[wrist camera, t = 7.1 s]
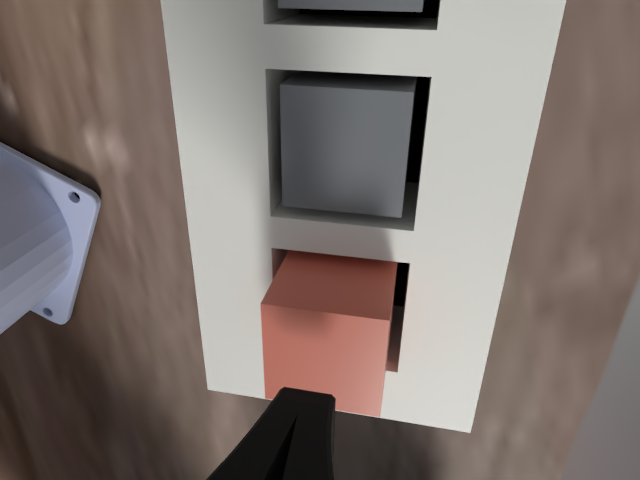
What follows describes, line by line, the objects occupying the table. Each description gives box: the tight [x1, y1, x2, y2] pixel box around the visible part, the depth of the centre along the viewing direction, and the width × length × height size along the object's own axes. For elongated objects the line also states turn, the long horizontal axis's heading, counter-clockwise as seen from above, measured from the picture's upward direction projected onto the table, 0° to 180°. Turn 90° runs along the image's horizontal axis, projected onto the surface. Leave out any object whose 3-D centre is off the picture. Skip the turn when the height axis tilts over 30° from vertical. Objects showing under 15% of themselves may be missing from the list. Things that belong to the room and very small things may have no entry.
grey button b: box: [280, 70, 417, 218], centre depth 16 cm, size 4×4×4 cm
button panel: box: [161, 0, 566, 433], centre depth 16 cm, size 20×10×4 cm, turn 179°
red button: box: [260, 250, 398, 417], centre depth 16 cm, size 4×4×4 cm
